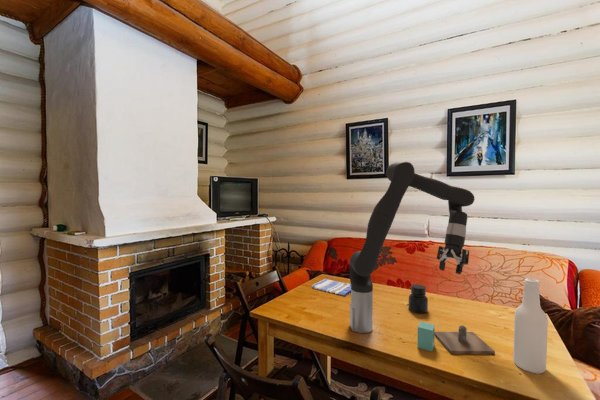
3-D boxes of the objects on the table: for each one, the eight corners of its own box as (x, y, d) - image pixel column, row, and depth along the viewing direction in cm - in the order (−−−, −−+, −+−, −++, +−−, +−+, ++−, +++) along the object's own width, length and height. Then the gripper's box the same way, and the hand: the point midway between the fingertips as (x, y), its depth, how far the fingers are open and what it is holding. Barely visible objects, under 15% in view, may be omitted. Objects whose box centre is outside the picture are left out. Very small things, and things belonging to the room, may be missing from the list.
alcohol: (550, 377, 92) (554, 285, 91) (517, 370, 95) (520, 282, 94) (539, 361, 100) (542, 277, 99) (509, 356, 104) (512, 274, 102)
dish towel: (325, 281, 188) (325, 277, 188) (358, 289, 174) (358, 284, 174) (310, 289, 175) (310, 284, 175) (344, 297, 160) (344, 293, 160)
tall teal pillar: (417, 347, 110) (417, 327, 109) (420, 341, 114) (420, 321, 114) (432, 351, 107) (432, 330, 106) (434, 345, 111) (434, 325, 111)
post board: (450, 354, 105) (451, 334, 105) (433, 334, 119) (434, 317, 119) (494, 354, 105) (495, 335, 105) (472, 334, 119) (472, 317, 119)
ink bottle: (425, 306, 147) (425, 283, 147) (431, 314, 138) (431, 289, 138) (405, 306, 148) (405, 283, 147) (410, 313, 139) (410, 289, 139)
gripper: (436, 232, 131) (430, 267, 129) (463, 234, 117) (457, 273, 115) (448, 235, 133) (443, 270, 131) (476, 238, 120) (470, 276, 117)
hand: (449, 271), depth 123 cm, fingers open, 8 cm apart
